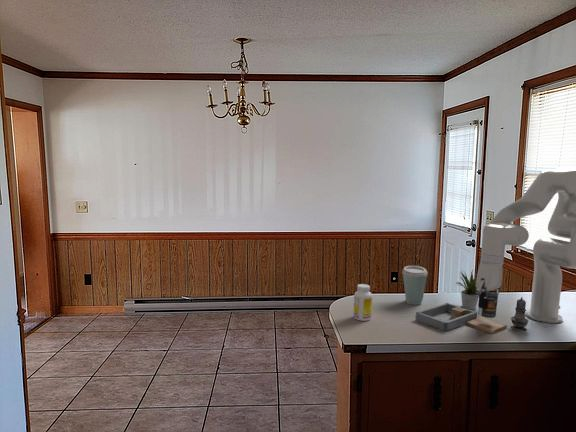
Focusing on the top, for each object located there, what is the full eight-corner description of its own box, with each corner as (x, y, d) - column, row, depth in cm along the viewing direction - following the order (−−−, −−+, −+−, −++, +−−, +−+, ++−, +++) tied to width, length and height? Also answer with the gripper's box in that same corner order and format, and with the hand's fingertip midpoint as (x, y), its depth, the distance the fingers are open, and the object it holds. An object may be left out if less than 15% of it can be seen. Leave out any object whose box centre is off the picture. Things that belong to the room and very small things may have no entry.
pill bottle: (480, 317, 155) (482, 287, 154) (476, 311, 161) (478, 282, 159) (497, 319, 154) (500, 288, 152) (493, 313, 160) (496, 284, 158)
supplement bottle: (373, 317, 165) (374, 284, 163) (368, 322, 159) (370, 289, 157) (356, 314, 168) (357, 282, 166) (351, 319, 162) (352, 286, 160)
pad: (480, 319, 165) (480, 316, 165) (506, 327, 157) (506, 325, 157) (466, 324, 159) (466, 322, 159) (492, 333, 151) (492, 331, 151)
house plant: (447, 309, 175) (450, 271, 172) (447, 299, 187) (450, 263, 185) (485, 315, 170) (489, 275, 167) (483, 304, 182) (486, 267, 180)
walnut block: (456, 316, 168) (457, 306, 167) (466, 319, 164) (466, 309, 164) (450, 318, 165) (451, 308, 165) (460, 321, 162) (461, 311, 162)
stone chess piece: (527, 333, 152) (530, 300, 151) (509, 329, 155) (512, 297, 154) (528, 327, 157) (531, 296, 156) (510, 324, 160) (513, 293, 159)
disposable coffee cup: (429, 306, 178) (431, 271, 176) (403, 306, 178) (405, 271, 176) (421, 298, 188) (424, 265, 186) (397, 298, 188) (399, 264, 186)
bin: (446, 309, 175) (446, 302, 174) (476, 319, 164) (477, 312, 164) (415, 319, 163) (416, 312, 162) (445, 331, 152) (446, 323, 152)
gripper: (494, 254, 163) (490, 299, 165) (469, 259, 153) (465, 307, 155) (514, 258, 157) (509, 305, 159) (489, 263, 147) (484, 314, 149)
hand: (487, 306), depth 157 cm, fingers closed on pill bottle, 6 cm apart
